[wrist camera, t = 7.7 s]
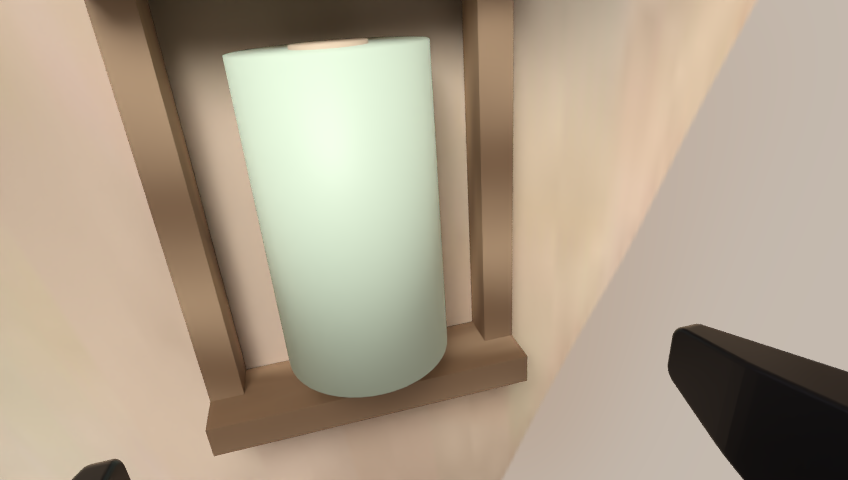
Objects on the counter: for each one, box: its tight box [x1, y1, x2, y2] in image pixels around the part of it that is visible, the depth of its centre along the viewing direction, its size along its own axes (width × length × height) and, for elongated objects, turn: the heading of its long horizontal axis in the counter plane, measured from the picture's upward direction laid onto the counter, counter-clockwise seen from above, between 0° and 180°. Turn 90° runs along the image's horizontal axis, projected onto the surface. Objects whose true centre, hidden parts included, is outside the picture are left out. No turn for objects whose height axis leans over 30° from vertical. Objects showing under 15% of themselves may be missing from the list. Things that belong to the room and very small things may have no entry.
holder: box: [84, 0, 527, 456], centre depth 17 cm, size 16×12×3 cm
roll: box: [222, 36, 447, 398], centre depth 16 cm, size 10×6×6 cm, turn 5°
